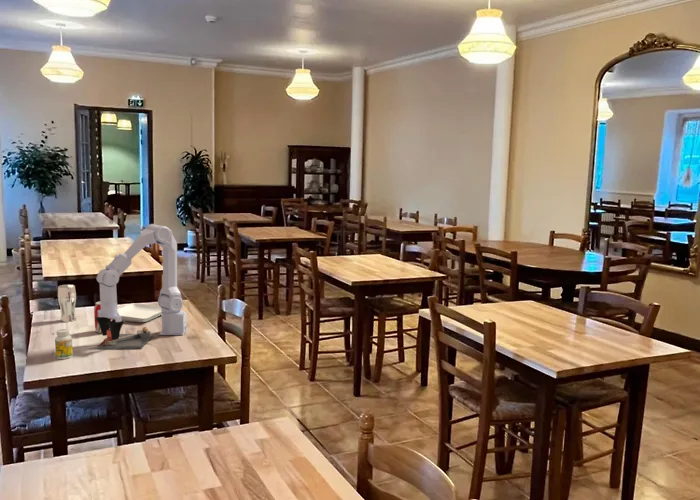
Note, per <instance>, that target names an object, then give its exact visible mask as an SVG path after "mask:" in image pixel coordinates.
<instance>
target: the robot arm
mask: <svg viewBox="0 0 700 500" xmlns="http://www.w3.org/2000/svg"><path fill="white" fill-rule="evenodd" d="M154 244H157V245H158V246H160V247H161V248H162V287H161V289H160V290H159V296H158V299H157V305H158V306H160V307H161V331H160V332H159V333H158V335H159V336H182V335H185V333H186V332H187V331H188V326H187V325H188V321H187V312H186V311H185V310H182V309H183V305H184V300H183V298H182V293H181V291H180V290H179V289H180V288H178V242H177V241H176V238H175V236H174V234H173V230H172V229H170V228H169V227H168V226H166V225H159V224H155V223H150V224H148V225H147V226H146V227H145V228H144V229H143V230H141V233H140V234H139V235H138V237H137V238H136V239H135V240H134V241H133V242H132V244H131V245H130V246H129V247H128V248H127V250H126V251H124V253H119V254H115V256H113V258H114V259H113V260H111V261H110V262H109V264H108V265H105V268H103V269H101V270H100V271H98V273H97V276H96V278H95V279H96V281H97V282H98V283H99V301H100V303H101V310H98V317H96V320H97V322H98V324H99V326H100V329H101V332H102V333H101V335H102V336H103V337H104V336H105V337H106V336H107V330H108V329H109V327H110V331H111V336H112V340H116V339H119V334H121V329H122V327H123V325H124V323H125V321H124V320H122V317H121V316H120V315H119V313H118V312H117V309H118V295H117V284H118V283H119V281H120V277H121V276H122V274H123V273H124V272H125V271H126V270H127V269H128V268H129V267H130V266H131V265H132V259H134V257H136V256H137V255H138V254H139V253H140V252H141V251H142V250H143V249H144V248H146V246H147V245H154ZM111 319H112V321H111Z"/></svg>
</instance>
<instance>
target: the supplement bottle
mask: <svg viewBox="0 0 700 500" xmlns="http://www.w3.org/2000/svg"><path fill="white" fill-rule="evenodd" d="M54 345H55V346H54V347H55V358H56V359H58V360H66V359H67V360H68V359H70V358H73V355H74V351H73V338H72V335H70V329H67V328H64V329H63V328H62V329H59V330H56V337H55V338H54Z"/></svg>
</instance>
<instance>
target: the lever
mask: <svg viewBox="0 0 700 500" xmlns="http://www.w3.org/2000/svg"><path fill="white" fill-rule="evenodd" d="M148 331H149V334H152V333H151V331H150V330H148ZM142 332H143V331H142V329H141V330H137V331H136V333H131V334H132V335H127V336H123V337H119V339H116V340H112V336H111V331H110V329H108V330H107V335H106V338H107V341H110V342H111V343H114V342H118V341H123V340H127V339H131V338H135V337H141V333H142Z"/></svg>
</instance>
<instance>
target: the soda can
mask: <svg viewBox="0 0 700 500" xmlns="http://www.w3.org/2000/svg"><path fill="white" fill-rule="evenodd" d="M98 310H101V303H100V300H99V301H97V302H95V305H94V306H93V314H94V329H95V332H97V333H99V334H102V332H101V329H100V326H99V324H98V322H97V320H96V317H98ZM111 321H112V319H111ZM109 329H110V327H109Z"/></svg>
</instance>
